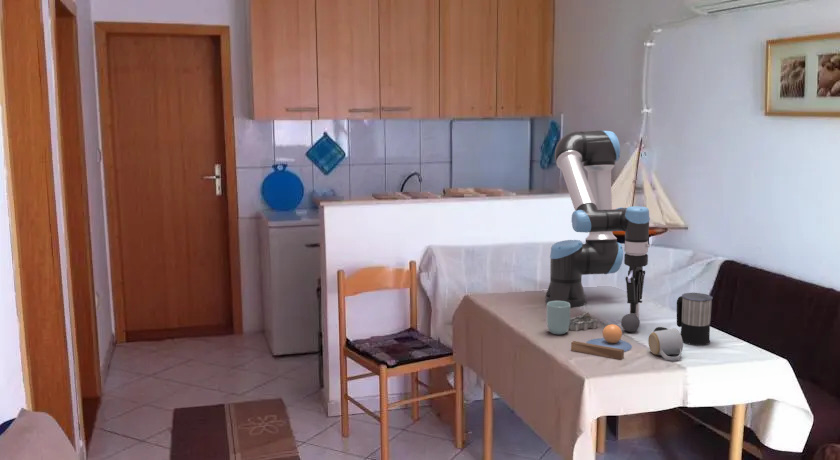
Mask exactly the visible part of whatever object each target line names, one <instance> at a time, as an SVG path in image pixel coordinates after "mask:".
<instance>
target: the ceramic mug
mask: <svg viewBox="0 0 840 460" xmlns="http://www.w3.org/2000/svg"><path fill="white" fill-rule="evenodd" d="M647 339H648V340H647V341H648V348H649V350H650V352H651V353H652V354H653V355H654V356H661V357H662V358H663V359H664V360H667V361H670V362H676V361H679V360H680V359H681V357H682V352H683V348H684V342H683V340H682V336H681V331H680V330H679V329H678V328H667V330H661V331H655V332H654V331H652V332H651V333H650V334H649V335H648V338H647ZM673 355H677V356H673Z"/></svg>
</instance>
